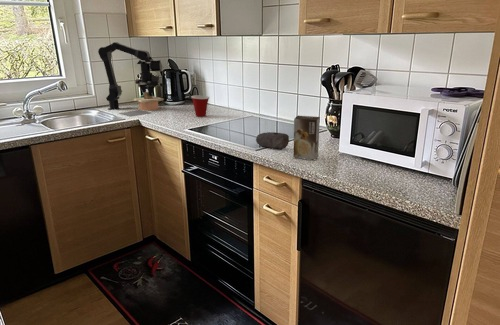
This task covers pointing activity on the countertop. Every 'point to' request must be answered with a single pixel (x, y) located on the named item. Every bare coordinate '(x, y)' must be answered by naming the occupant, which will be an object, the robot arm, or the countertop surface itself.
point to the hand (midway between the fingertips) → (147, 95)
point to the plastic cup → (200, 105)
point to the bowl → (148, 105)
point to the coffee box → (306, 137)
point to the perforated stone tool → (273, 140)
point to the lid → (147, 98)
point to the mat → (134, 113)
